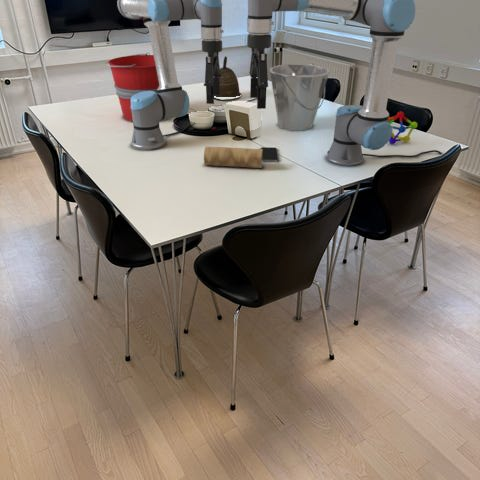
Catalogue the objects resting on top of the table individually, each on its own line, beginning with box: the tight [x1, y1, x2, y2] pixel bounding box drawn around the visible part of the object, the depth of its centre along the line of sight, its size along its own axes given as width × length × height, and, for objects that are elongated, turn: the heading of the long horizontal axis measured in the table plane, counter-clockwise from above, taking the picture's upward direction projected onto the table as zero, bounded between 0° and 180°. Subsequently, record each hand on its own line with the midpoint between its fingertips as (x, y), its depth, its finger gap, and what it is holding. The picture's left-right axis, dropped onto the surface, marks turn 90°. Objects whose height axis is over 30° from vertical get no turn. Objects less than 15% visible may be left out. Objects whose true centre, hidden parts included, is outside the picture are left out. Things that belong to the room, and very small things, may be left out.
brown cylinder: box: [203, 146, 263, 169], centre depth 184 cm, size 24×8×8 cm, turn 83°
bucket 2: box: [269, 63, 330, 131], centre depth 226 cm, size 30×30×28 cm
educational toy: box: [388, 110, 418, 145], centre depth 207 cm, size 16×13×15 cm
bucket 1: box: [105, 52, 162, 123], centre depth 239 cm, size 35×35×30 cm
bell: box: [214, 56, 242, 97], centre depth 278 cm, size 19×26×20 cm
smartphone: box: [260, 146, 279, 162], centre depth 196 cm, size 7×1×15 cm
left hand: (213, 99), depth 172 cm, fingers open, 13 cm apart
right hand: (257, 102), depth 149 cm, fingers open, 13 cm apart
